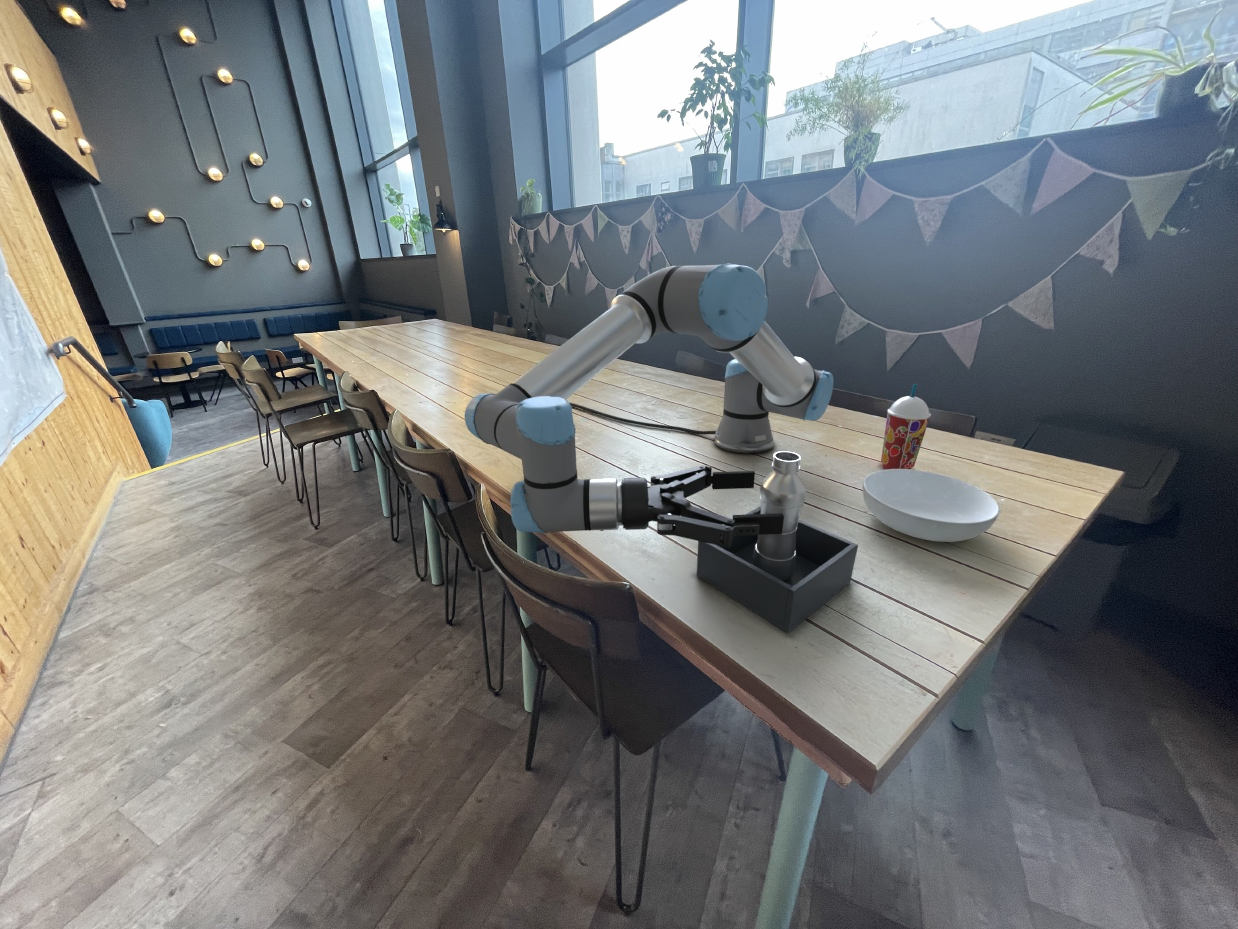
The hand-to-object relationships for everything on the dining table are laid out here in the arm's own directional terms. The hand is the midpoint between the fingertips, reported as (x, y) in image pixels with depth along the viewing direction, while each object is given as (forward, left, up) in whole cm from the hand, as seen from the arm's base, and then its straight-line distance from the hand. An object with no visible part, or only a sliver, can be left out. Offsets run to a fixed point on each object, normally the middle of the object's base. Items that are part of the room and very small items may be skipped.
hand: (766, 499), depth 68 cm
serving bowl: (+9, +36, -14) cm, 40 cm away
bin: (+1, +2, -14) cm, 14 cm away
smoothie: (-5, +59, -14) cm, 61 cm away
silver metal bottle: (+1, +2, -13) cm, 14 cm away
